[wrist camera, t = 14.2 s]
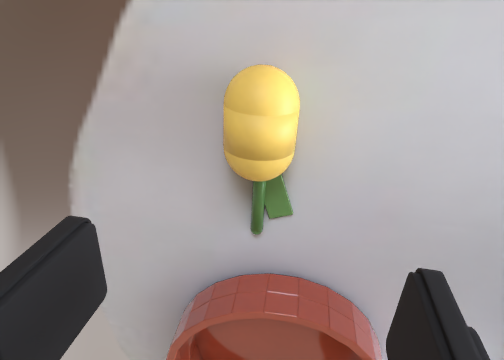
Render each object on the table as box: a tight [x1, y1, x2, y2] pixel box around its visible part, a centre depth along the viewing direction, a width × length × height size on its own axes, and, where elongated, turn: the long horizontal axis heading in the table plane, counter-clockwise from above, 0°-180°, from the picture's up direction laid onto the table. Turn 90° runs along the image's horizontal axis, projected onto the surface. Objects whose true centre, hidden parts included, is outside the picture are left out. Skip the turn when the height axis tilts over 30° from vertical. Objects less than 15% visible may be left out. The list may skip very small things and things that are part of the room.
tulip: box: [223, 65, 300, 235], centre depth 22 cm, size 13×5×4 cm, turn 177°
